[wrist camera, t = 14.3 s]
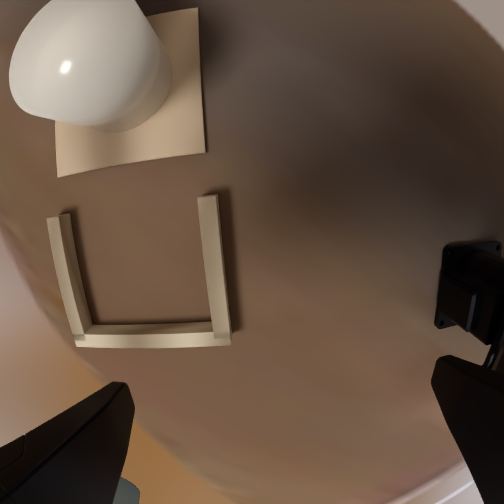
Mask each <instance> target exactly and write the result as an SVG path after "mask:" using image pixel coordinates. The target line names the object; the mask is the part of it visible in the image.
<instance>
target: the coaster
mask: <svg viewBox="0 0 504 504" xmlns="http://www.w3.org/2000/svg"><path fill="white" fill-rule="evenodd" d="M146 19H147V20H148V22H149V23H150V25H151V27H152V28H153V30H154V31H155V33H156V34H157V36H158V38H159V39H160V41H161V42H162V44H163V46H164V47H165V49H166V51H167V52H168V54H169V56H170V58H171V62H172V67H173V78H172V84H171V87H170V90H169V93H168V95H167V97H166V99H165V101H164V102H163V104H162V105H161V107H160V108H159V109H158V110H157V111H156V112H155V114H154V115H153V116H152V117H150V118H149V119H148V120H147V121H145V122H144V123H142V124H141V125H139V126H137V127H135V128H133V129H131V130H128V131H125V132H121V133H103V132H99V131H96V130H92V129H88V128H84V127H80V126H77V125H73V124H69V123H65V122H61V121H56V120H55V134H56V159H57V174H58V177H63V176H68V175H72V174H77V173H81V172H86V171H91V170H96V169H101V168H106V167H112V166H117V165H123V164H129V163H135V162H141V161H147V160H154V159H161V158H168V157H175V156H183V155H192V154H200V153H206V150H205V136H204V122H203V106H202V89H201V71H200V49H199V23H198V7H197V8H190V9H183V10H177V11H171V12H166V13H161V14H156V15H151V16H146Z"/></svg>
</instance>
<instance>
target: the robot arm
mask: <svg viewBox="0 0 504 504" xmlns="http://www.w3.org/2000/svg"><path fill="white" fill-rule="evenodd" d="M496 247H497V248H496ZM501 249H502V245H501V243H500V242H498V241H488V242H478V243H468V244H458V245H448V246H446V247H445V248H444V250H443V258H442V269H441V278H440V286H439V294H438V302H437V309H436V316H435V322H434V325H435V326H436V327H437V328H438V329H443V328H447V327H451V326H455V325H458V326H460V327H461V328H462V329H463V330H465V331H466V332H470V333H471V334H472V335H474V336H475V337H476V338H477V339H479V340H480V341H481V342H482V343H484V344H485V345H489V344H490V345H491V347H490V349H489V352H488V354H487V357H486V359H485V362H484V364H483V365H482V366H480V365H477V364H475V363H472V362H469V361H466V360H463V359H460V358H458V357H455V356H452V355H446V356H442V357H439V358H438V359H437V361H436V364H435V368H434V371H433V375H432V378H431V385H432V388H433V391H434V393H435V396H436V398H437V400H438V403H439V405H440V408H441V411H442V413H443V416H444V418H445V421H446V423H447V425H448V427H449V429H450V431H451V433H452V435H453V437H454V439H455V441H456V443H457V445H458V447H459V449H460V451H461V453H462V455H463V457H464V460H465V462H466V464H467V466H468V468H469V470H470V472H471V474H472V477H473V479H474V481H475V483H476V486H477V488H478V490H479V493H480V495H481V497H482V499H483V502H484V504H504V258H502V257H501ZM449 251H450V254H449ZM448 254H449V255H448ZM440 322H441V323H440ZM134 413H135V406H134V402H133V399H132V396H131V393H130V390H129V387H128V385H127V384H126V383H125V382H111V383H110V384H108V385H106V386H105V387H103V388H102V389H100V390H98V391H97V392H95V393H94V394H92V395H90V396H88V397H87V398H85V399H84V400H82V401H80V402H79V403H77V404H75V405H74V406H72V407H70V408H69V409H67V410H65V411H64V412H62V413H60V414H59V415H57V416H55V417H53V418H52V419H50V420H48V421H47V422H45V423H43V424H42V425H40V426H38V427H37V428H35V429H33V430H31V431H29V432H28V433H26V434H25V435H22V436H21V437H19V438H17V439H15V440H14V441H12V442H10V443H8V444H6V445H4V446H2V447H0V504H113V501H114V497H115V493H116V490H117V486H118V483H119V479H120V476H121V472H122V469H123V466H124V462H125V459H126V455H127V451H128V446H129V439H130V434H131V429H132V423H133V418H134Z"/></svg>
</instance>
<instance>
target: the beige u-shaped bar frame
mask: <svg viewBox="0 0 504 504" xmlns="http://www.w3.org/2000/svg"><path fill="white" fill-rule="evenodd" d="M197 200H198V210H199V220H200V230H201V239H202V248H203V257H204V265H205V274H206V282H207V290H208V297H209V305H210V312H211V319H212V321H209V322H191V323H168V324H135V325H93V324H92V320H91V316H90V313H89V309H88V305H87V301H86V297H85V293H84V288H83V284H82V279H81V275H80V270H79V265H78V260H77V255H76V249H75V244H74V238H73V231H72V225H71V218H70V213H68V214H62V215H57V216H54V217H50V218H47V224H48V231H49V237H50V243H51V248H52V254H53V259H54V264H55V268H56V273H57V277H58V282H59V286H60V290H61V294H62V298H63V302H64V306H65V309H66V313H67V316H68V320H69V323H70V327H71V330H72V333H73V336H74V339H75V342H76V345H77V347H100V348H178V347H204V346H223V345H231V344H232V329H231V321H230V312H229V303H228V294H227V284H226V275H225V265H224V256H223V245H222V235H221V225H220V214H219V203H218V194H216V195H205V196H200V197H198V198H197Z"/></svg>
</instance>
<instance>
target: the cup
mask: <svg viewBox="0 0 504 504" xmlns="http://www.w3.org/2000/svg"><path fill="white" fill-rule="evenodd" d="M139 497H140V491H139V489H138V488H137V487H136V486H135V485H134V484H132V483H131V482H129V481H128V480H126V479H124V478H122V477H120V479H119V483H118V486H117V490H116V493H115V497H114V501H113V504H139Z"/></svg>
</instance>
